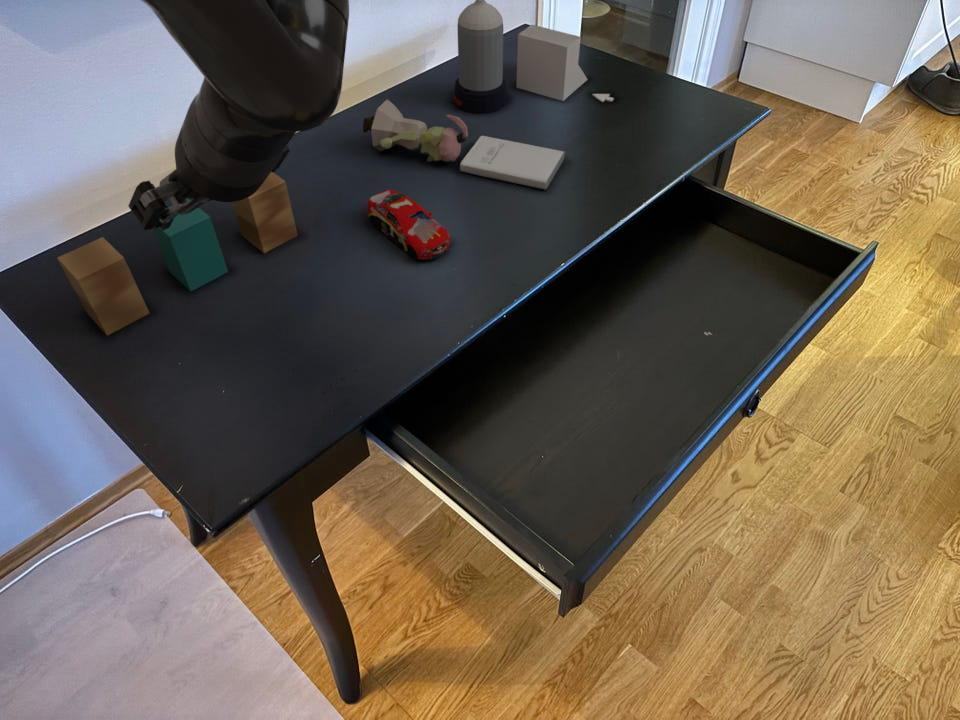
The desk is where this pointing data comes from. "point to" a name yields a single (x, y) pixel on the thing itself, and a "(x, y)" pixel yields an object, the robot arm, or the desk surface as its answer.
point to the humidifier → (480, 60)
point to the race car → (408, 225)
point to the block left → (104, 285)
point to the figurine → (414, 134)
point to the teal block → (191, 249)
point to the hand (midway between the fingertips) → (198, 202)
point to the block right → (267, 215)
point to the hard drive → (513, 162)
